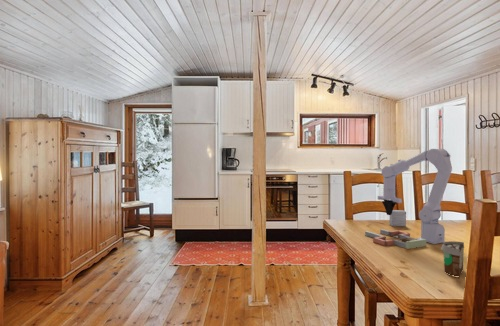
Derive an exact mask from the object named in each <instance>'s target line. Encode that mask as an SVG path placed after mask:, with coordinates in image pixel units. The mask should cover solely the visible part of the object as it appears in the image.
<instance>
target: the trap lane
mask: <svg viewBox="0 0 500 326" xmlns="http://www.w3.org/2000/svg"><path fill="white" fill-rule="evenodd" d="M379 233H380V234H378V233H376V232H371V231H368V230H365V231H364V235H365V236H366V237H369V238H372V242H373V243H375V244H378V245H380V246H386V247H388V246H392V245H393V246H394V245H395V246H398V247H400V248H404V249H406V250H407V249H408V250H410V248H411V249H415V248H416V247H417V248H422V247H427V242H426V239H418V240H412V241H406V243H405V242H402V238H406V237H411V233H409V232H405V231H401V230H398V229H397V230H391V231H390V230H387V229H383V228H380V232H379ZM384 235H386V236H384ZM387 236H389V237H392V238H396V239H388V240H387ZM411 238H413V237H411ZM398 239H399V240H398Z"/></svg>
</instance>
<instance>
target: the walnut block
mask: <svg viewBox="0 0 500 326" xmlns="http://www.w3.org/2000/svg"><path fill="white" fill-rule="evenodd" d="M412 240H418V239H417V238H415V237H412V238H411V236H410V237H406V238H402V239H401V242H405V243H406V241H412Z"/></svg>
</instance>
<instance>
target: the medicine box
mask: <svg viewBox="0 0 500 326" xmlns="http://www.w3.org/2000/svg"><path fill="white" fill-rule="evenodd" d="M388 225H389V226H391V227H407V212H406V211H405V210H403V209H401V210H400V209H399V210H398V209H393V211H392V214H391V215H389V224H388Z"/></svg>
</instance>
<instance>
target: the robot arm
mask: <svg viewBox="0 0 500 326" xmlns="http://www.w3.org/2000/svg"><path fill="white" fill-rule="evenodd" d="M424 161H426V162H427V161H428V162H429V163H430V164H432V165H433V166H434V167H435V169H437V173H436V175H435V179H434V181H433V184H432V187H431V190H430V192H429V196H428V199H427V201H426V203H425V204H424V205H423V206H422V209H420V211H419V213H418V218H419V220H420V221H421V222H420V223H421V224H420V225H421V226H420V227H421V228H420V230H421V231H420V237H417V238H416V239H426V243H429V244H431V245H432V244H433V245H436V244H437V245H438V244H443V243H444V242H447V241H445V234H446V233H445V226H444V225H442V224H440V223H439V219H441V215H442V212H441V210H442V206H441V203H442V201H443V196H444V193H445V192H446V191H445V190H446V188H447V185H448V183H449V179H450V177H451V174H452V171H453V167H452V161H451V154H450V153H449V152H448V151H447V150H446V149H445V148H430V149H429V150H424V151H422V152H421V153H418V154H417V155H415V156H413V157H410V158H409V159H407V160H406V159H398V160H397V162H395V163H390V165H389V166H388V165H387V166H384V167H382V169H381V175H382V177H383V192H382V193H383V195H377V200H381V201H382V202H381V203H382V205H383V207H384V209H385V213H386V215H387V216H390V215H391V214H392V211H393V210H394V208H395V206H396V204H402V203H403V199H402V198H399V197H397V196H396V177H397V176H398V175H399V174H402V173H404V172H406V171H409V169H410V167H412V166H414V165H416V164H419V163H422V162H424Z"/></svg>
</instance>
